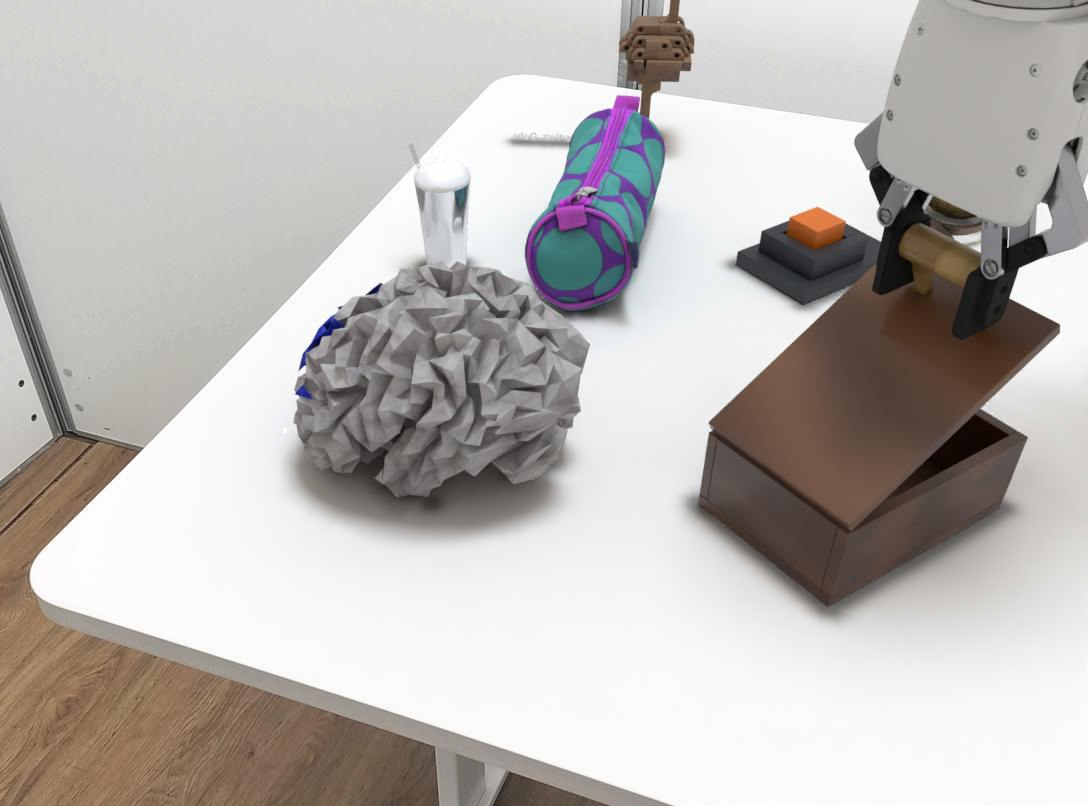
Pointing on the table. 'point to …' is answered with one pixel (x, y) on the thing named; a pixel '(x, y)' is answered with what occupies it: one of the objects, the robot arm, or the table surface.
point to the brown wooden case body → (886, 533)
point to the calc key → (816, 228)
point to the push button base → (809, 262)
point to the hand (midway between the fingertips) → (933, 304)
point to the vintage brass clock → (954, 213)
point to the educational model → (441, 379)
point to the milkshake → (443, 208)
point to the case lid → (879, 382)
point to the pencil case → (597, 209)
